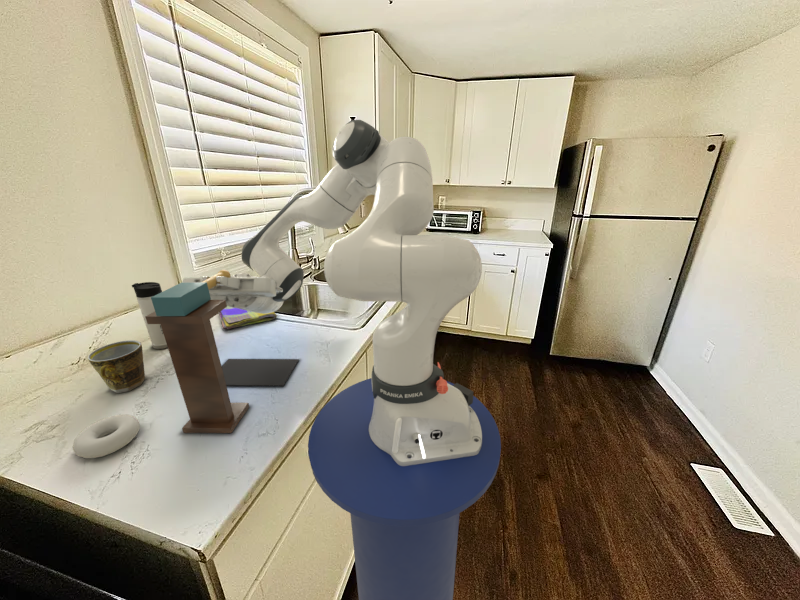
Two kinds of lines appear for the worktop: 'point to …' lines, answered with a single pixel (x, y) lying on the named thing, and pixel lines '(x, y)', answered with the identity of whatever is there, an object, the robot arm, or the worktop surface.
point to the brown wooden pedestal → (200, 369)
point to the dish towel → (242, 317)
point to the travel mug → (150, 311)
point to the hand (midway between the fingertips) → (211, 280)
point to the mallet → (185, 297)
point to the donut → (96, 446)
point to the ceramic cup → (120, 365)
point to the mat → (258, 371)
